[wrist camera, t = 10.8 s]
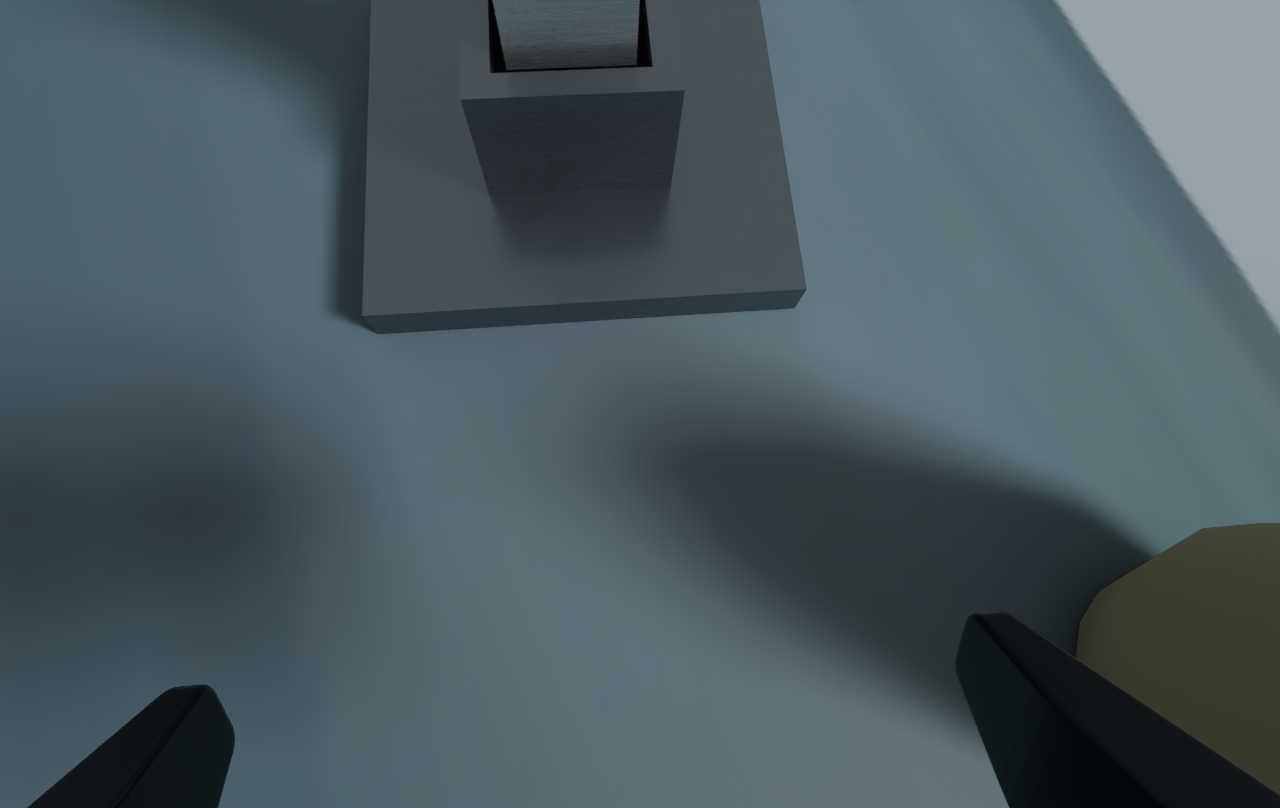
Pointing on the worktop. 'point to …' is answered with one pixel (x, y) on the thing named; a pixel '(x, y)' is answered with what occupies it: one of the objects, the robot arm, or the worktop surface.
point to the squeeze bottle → (1200, 641)
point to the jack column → (567, 33)
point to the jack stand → (573, 174)
